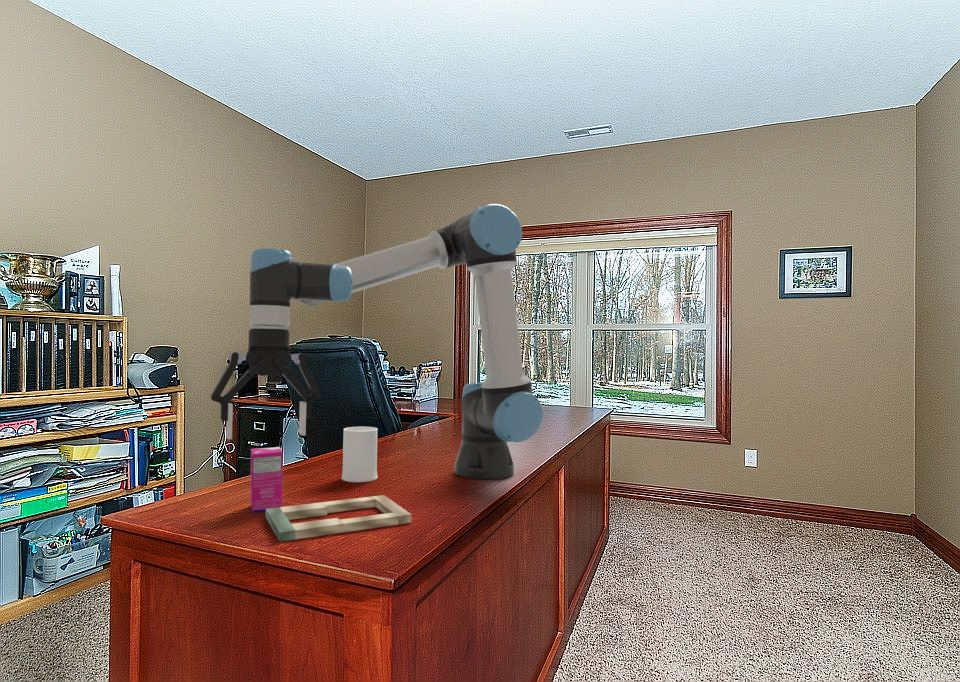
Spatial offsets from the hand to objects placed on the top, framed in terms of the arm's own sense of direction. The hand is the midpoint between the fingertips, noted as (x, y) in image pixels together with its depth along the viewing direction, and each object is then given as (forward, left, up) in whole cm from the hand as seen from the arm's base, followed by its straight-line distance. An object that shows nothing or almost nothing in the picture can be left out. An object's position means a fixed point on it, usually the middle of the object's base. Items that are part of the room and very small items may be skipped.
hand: (266, 436), depth 113 cm
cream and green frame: (-11, +14, -14) cm, 22 cm away
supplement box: (0, 0, -14) cm, 14 cm away
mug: (-25, -18, -14) cm, 34 cm away
